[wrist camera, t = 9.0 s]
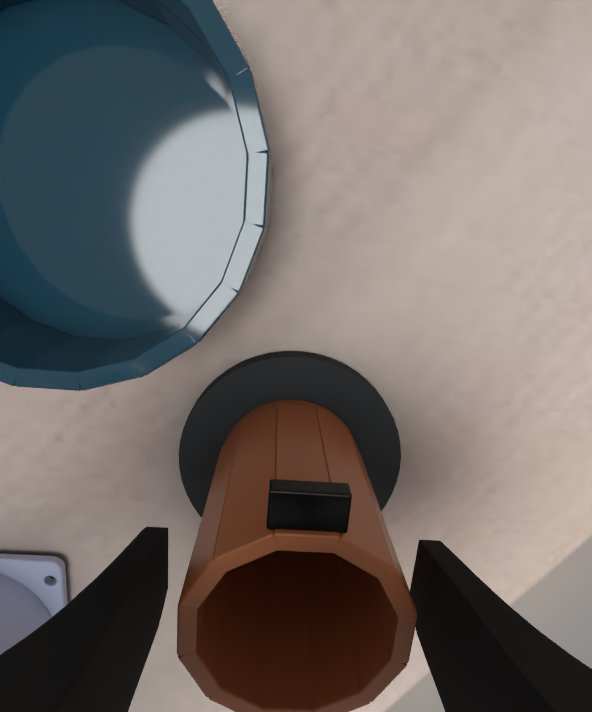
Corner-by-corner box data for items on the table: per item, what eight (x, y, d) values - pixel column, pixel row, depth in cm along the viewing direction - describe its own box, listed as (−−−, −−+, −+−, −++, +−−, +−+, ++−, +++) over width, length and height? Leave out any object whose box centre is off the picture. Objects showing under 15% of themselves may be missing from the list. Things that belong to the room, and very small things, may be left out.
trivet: (381, 548, 20) (385, 561, 19) (181, 539, 20) (177, 551, 19) (411, 359, 18) (417, 365, 17) (184, 342, 17) (179, 347, 17)
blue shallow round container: (260, 360, 18) (254, 402, 13) (-54, 338, 17) (-169, 374, 13) (283, 5, 14) (284, -92, 10) (-104, -39, 14) (-281, -163, 9)
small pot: (346, 543, 19) (391, 753, 11) (218, 536, 19) (174, 749, 11) (368, 380, 17) (440, 503, 9) (225, 371, 17) (178, 489, 9)
